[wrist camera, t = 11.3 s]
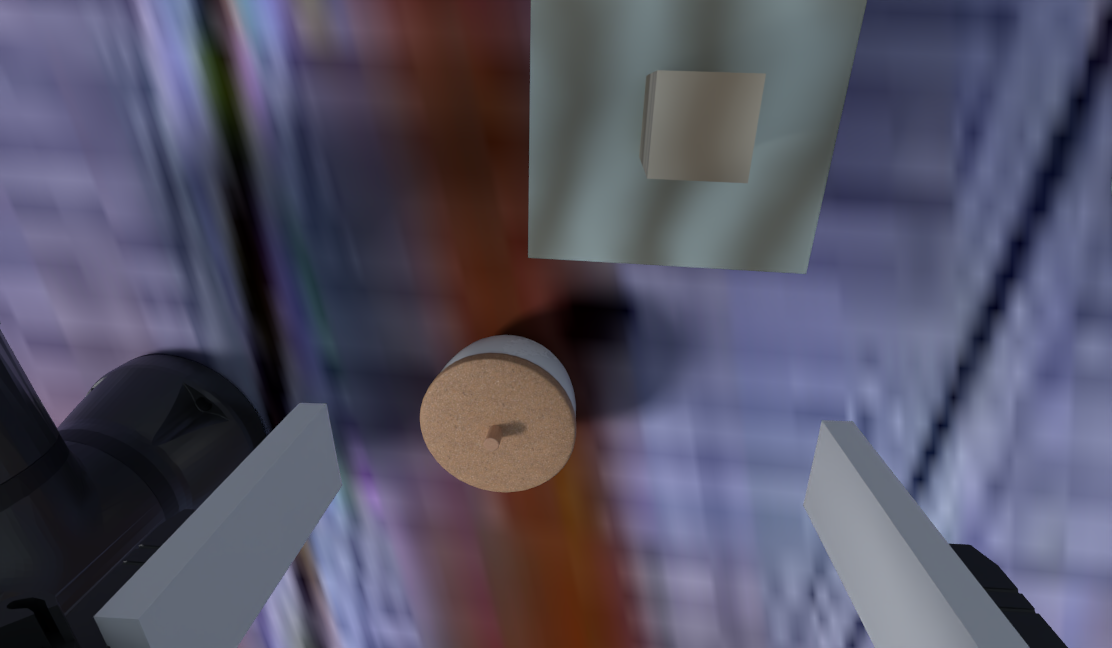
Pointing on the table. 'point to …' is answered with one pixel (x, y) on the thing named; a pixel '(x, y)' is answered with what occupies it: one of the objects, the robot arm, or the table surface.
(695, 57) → the lid
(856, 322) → the table surface
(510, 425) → the lidded jar
